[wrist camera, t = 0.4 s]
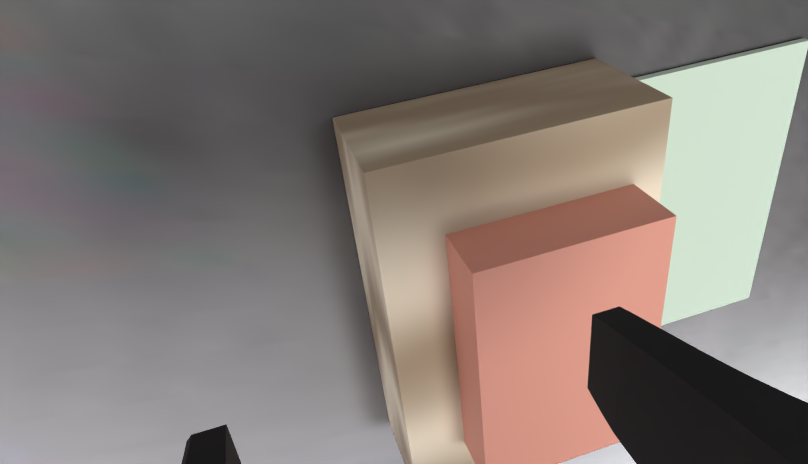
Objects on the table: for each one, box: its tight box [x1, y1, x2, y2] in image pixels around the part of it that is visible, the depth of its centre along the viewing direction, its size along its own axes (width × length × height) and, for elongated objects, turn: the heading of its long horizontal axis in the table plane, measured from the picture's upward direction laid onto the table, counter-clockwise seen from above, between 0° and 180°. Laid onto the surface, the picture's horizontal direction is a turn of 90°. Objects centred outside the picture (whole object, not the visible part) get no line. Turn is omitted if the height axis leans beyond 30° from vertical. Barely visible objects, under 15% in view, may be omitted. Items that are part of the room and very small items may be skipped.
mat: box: [635, 38, 808, 325], centre depth 26 cm, size 12×8×1 cm, turn 7°
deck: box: [332, 58, 673, 464], centre depth 22 cm, size 14×9×4 cm, turn 7°
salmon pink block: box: [445, 184, 677, 464], centre depth 20 cm, size 9×6×2 cm, turn 7°
